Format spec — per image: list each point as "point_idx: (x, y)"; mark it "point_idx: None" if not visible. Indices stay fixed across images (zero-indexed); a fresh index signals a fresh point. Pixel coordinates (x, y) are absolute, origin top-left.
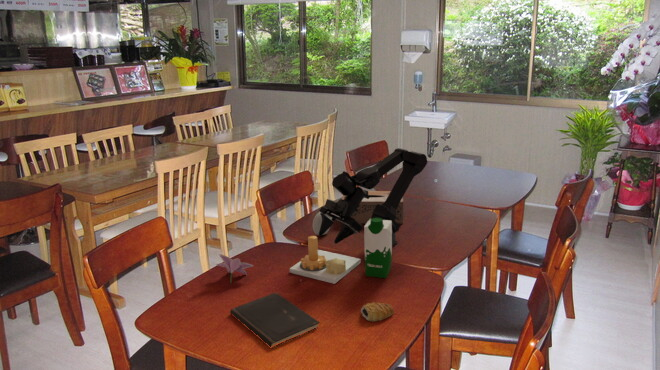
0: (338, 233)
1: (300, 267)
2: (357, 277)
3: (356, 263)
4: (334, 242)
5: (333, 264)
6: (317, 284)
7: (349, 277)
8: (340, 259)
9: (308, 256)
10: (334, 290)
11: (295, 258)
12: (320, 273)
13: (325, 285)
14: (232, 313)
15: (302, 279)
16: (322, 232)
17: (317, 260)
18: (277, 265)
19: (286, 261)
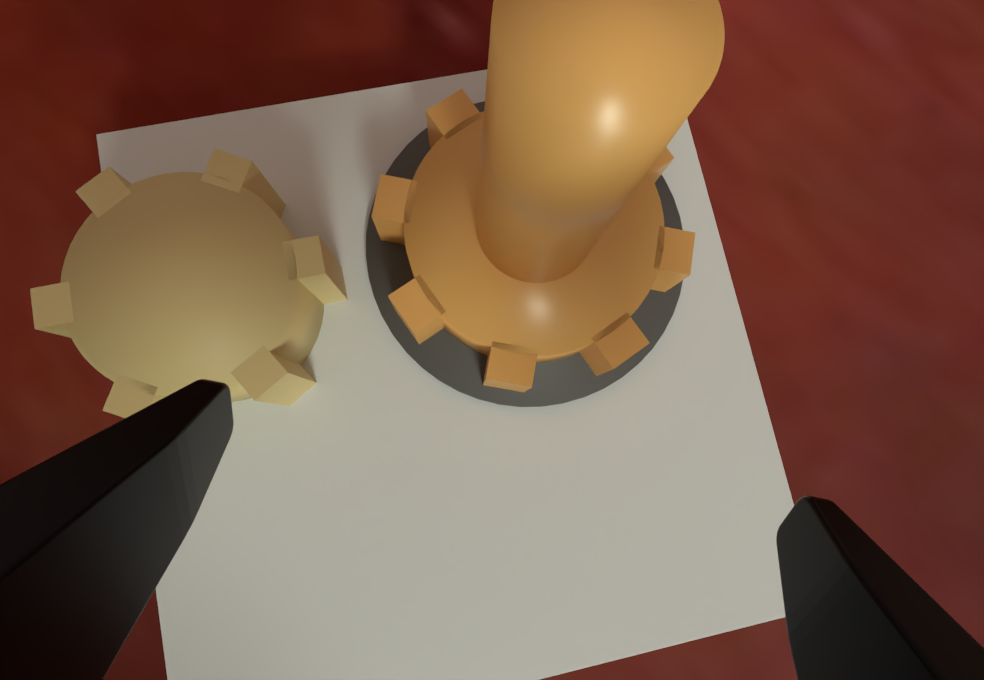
0: (39, 538)
1: None
2: (8, 413)
3: (172, 643)
4: (205, 379)
5: (166, 216)
6: (259, 52)
7: None
8: None
9: (644, 240)
10: (41, 61)
11: (865, 326)
12: (322, 149)
13: (181, 82)
14: None
15: (448, 40)
16: (811, 601)
17: (468, 227)
18: (862, 101)
19: (873, 217)
